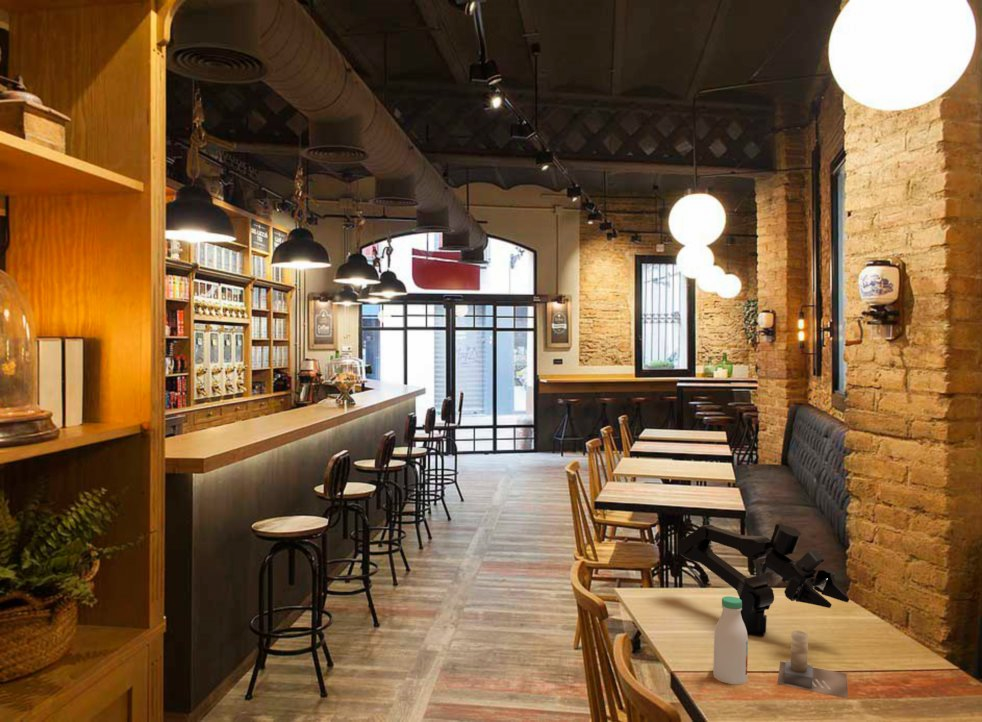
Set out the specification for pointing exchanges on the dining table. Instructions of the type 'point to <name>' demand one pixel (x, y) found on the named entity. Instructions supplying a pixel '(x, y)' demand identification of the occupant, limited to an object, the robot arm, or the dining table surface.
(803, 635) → the tan and grey post
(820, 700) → the dining table surface
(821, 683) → the walnut board
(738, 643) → the milk bottle
